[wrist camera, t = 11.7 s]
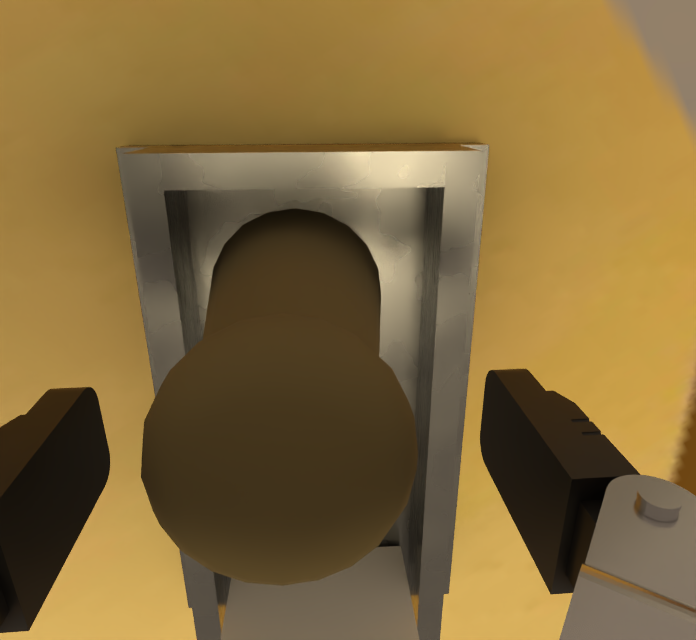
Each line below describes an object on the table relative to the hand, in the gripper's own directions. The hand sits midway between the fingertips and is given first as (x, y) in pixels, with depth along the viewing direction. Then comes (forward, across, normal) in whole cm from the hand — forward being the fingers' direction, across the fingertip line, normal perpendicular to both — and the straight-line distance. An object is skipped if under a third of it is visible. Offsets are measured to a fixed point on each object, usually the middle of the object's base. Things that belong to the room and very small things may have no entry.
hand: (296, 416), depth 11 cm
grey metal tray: (+9, 0, +5) cm, 11 cm away
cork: (+9, 0, 0) cm, 9 cm away
